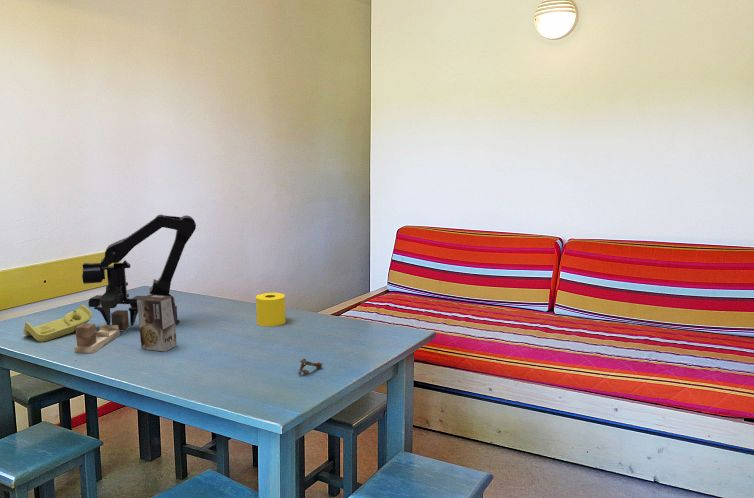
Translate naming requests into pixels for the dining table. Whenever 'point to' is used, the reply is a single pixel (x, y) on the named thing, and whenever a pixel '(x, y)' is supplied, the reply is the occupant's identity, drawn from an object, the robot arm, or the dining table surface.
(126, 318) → the walnut finger
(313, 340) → the dining table surface
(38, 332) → the plastic component
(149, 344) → the coffee box
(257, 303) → the yellow hollow cylinder
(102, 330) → the rail
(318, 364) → the brown triangular bracket
